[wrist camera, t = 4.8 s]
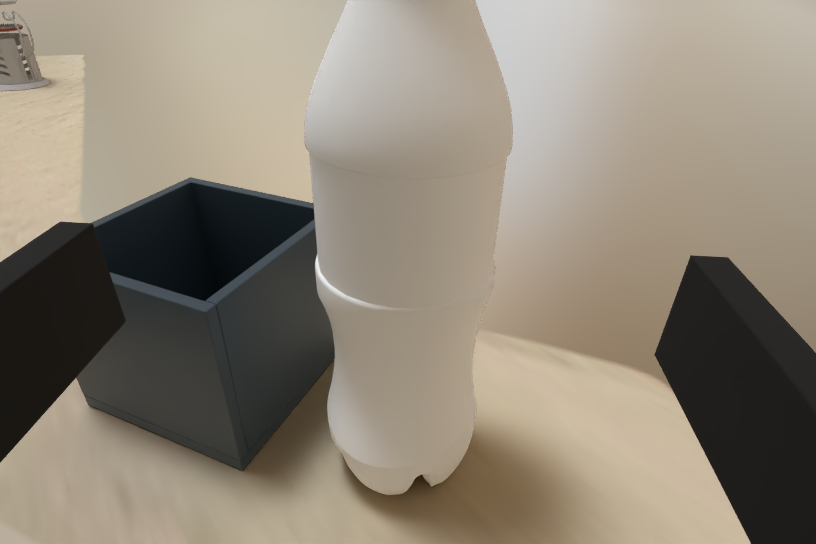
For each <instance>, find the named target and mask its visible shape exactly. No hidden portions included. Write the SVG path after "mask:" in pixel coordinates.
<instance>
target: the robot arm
mask: <svg viewBox="0 0 816 544" xmlns="http://www.w3.org/2000/svg"><path fill="white" fill-rule="evenodd" d="M125 322H126V319H125V316H124V314H123V311H122V308H121V305H120V302H119V299H118V296H117V293H116V290H115V287H114V284H113V281H112V278H111V275H110V272H109V269H108V267H107V264H106V261H105V258H104V255H103V252H102V249H101V246H100V243H99V240H98V237H97V234H96V231H95V228H94V225H93V224H91V223H73V222H59V223H58V224H56V225H55V226H53V227H52V228H50V229H49V230H47V231H46V232H44V233H43V234H41V235H40V236H38V237H37V238H35V239H34V240H33V241H31V242H30V243H28V244H27V245H25V246H24V247H22V248H21V249H19V250H18V251H16V252H15V253H13V254H12V255H10V256H9V257H7V258H6V259H5V260H3V261H2V262H0V462H1V461H2V460H3V459H4V458H5V457H6V456H7V454H8V453H9V452H10V451H11V450H12V449H13V448H14V447H15V445H16V444H17V443H18V442H19V441H20V440H21V439H22V438H23V436H24V435H25V434H26V433H27V432H28V431H29V430H30V429H31V427H32V426H33V425H34V424H35V423H36V422H37V421H38V420H39V419H40V417H41V416H42V415H43V414H44V413H45V412H46V411H47V410H48V408H49V407H50V406H51V405H52V404H53V403H54V402H55V401H56V399H57V398H58V397H59V396H60V395H61V394H62V393H63V392H64V390H65V389H66V388H67V387H68V386H69V385H70V384H71V383H72V381H73V380H74V379H75V378H76V377H77V376H78V375H79V374H80V373H81V371H82V370H83V369H84V368H85V367H86V366H87V365H88V364H89V362H90V361H91V360H92V359H93V358H94V357H95V356H96V355H97V353H98V352H99V351H100V350H101V349H102V348H103V347H104V346H105V344H106V343H107V342H108V341H109V340H110V339H111V338H112V337H113V335H114V334H115V333H116V332H117V331H118V330H119V329H120V328H121V327H122V325H123V324H124V323H125ZM655 356H656V358H657V360H658V362H659V364H660V366H661V368H662V370H663V372H664V374H665V376H666V378H667V380H668V382H669V384H670V386H671V388H672V390H673V392H674V394H675V396H676V397H677V399H678V401H679V403H680V405H681V407H682V409H683V411H684V413H685V415H686V417H687V419H688V421H689V423H690V425H691V427H692V429H693V431H694V433H695V435H696V437H697V439H698V440H699V442H700V444H701V446H702V448H703V450H704V452H705V454H706V456H707V458H708V460H709V462H710V464H711V466H712V468H713V470H714V472H715V474H716V476H717V478H718V480H719V482H720V483H721V485H722V487H723V489H724V491H725V493H726V495H727V497H728V499H729V501H730V503H731V505H732V507H733V509H734V511H735V513H736V515H737V517H738V519H739V521H740V523H741V525H742V526H743V528H744V530H745V532H746V534H747V536H748V538H749V540H750V542H751V544H816V353H815V352H814V351H813V349H812V348H811V347H810V346H809V345H808V344H807V343H806V342H805V341H804V340H803V339H802V338H801V336H800V335H799V334H798V333H797V332H796V331H795V330H794V329H793V328H792V327H791V326H790V324H789V323H788V322H787V321H786V320H785V319H784V318H783V317H782V316H781V315H780V314H779V313H778V311H776V309H775V308H774V307H773V306H772V305H771V304H770V303H769V302H768V301H767V300H766V298H765V297H764V296H763V295H762V294H761V293H760V292H759V291H758V290H757V289H756V288H755V286H754V285H753V284H752V283H751V282H750V281H749V280H748V279H747V278H746V277H745V276H744V275H743V273H741V271H740V270H739V269H738V268H737V267H736V266H735V265H734V264H733V263H732V261H731V260H730V259H729V258H726V257H708V256H690V259H689V262H688V265H687V267H686V270H685V273H684V276H683V278H682V281H681V284H680V287H679V289H678V292H677V295H676V298H675V300H674V303H673V306H672V308H671V311H670V314H669V317H668V320H667V322H666V325H665V328H664V330H663V333H662V336H661V339H660V342H659V344H658V347H657V350H656V353H655Z"/></svg>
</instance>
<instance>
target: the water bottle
mask: <svg viewBox="0 0 816 544" xmlns="http://www.w3.org/2000/svg"><path fill="white" fill-rule="evenodd" d="M512 130H513V127H512V115H511V106H510V102H509V97H508V93H507V89H506V86H505V83H504V80H503V77H502V74H501V71H500V68H499V65H498V62H497V59H496V56H495V53H494V50H493V48H492V45H491V43H490V40H489V38H488V35H487V32H486V29H485V27H484V25H483V22H482V19H481V16H480V13H479V10H478V7H477V5H476V2H475V0H348V1H347V3H346V6H345V8H344V11H343V13H342V16H341V18H340V20H339V22H338V25H337V27H336V29H335V31H334V34H333V36H332V38H331V41H330V43H329V45H328V47H327V50H326V52H325V55H324V57H323V60H322V62H321V65H320V67H319V70H318V73H317V75H316V78H315V81H314V83H313V86H312V90H311V93H310V97H309V101H308V104H307V110H306V118H305V146H306V148H307V150H308V151H309V154H310V166H311V180H312V192H313V204H314V217H315V229H316V241H317V256H316V261H315V273H316V285H317V293H318V296H319V298H320V300H321V302H322V304H323V305H324V307H325V310H326V312H327V314H328V317H329V319H330V323H331V327H332V331H333V339H334V347H335V361H334V371H333V377H332V382H331V386H330V390H329V394H328V402H327V413H328V422H329V428H330V433H331V439H332V441H333V443H334V445H335V446H336V448H337V449H338V450H339V452H341V453H342V455H343V456H344V459H345V461H346V463H347V465H348V466H349V468H350V469H351V471H352V472H353V473H354V475H355V476H356V477H357V478H358V479H359V480H360V481H361V482H362V483H363V484H364V485H365V486H367V487H368V488H370V489H372V490H374V491H376V492H379V493H382V494H386V495H395V494H402V493H404V492H406V491H407V490H408V489H409V488H410V486H411V485H412V483H413V481H414V480H415V478H416V477H418V476H419V475H423V477H424V479H425V480H426V481H427V482H428V483H429V484H430V486H431V487H432V486H434V485H436V484H439V483H442V482H443V481H444V480H445V479H446V478H448V477H449V476H450V474H451V473H452V472H453V471H454V470H455V469H456V468H457V466H458V465H459V464H460V462H461V460H462V459H463V457H464V455H465V453H466V451H467V449H468V447H469V444H470V441H471V438H472V435H473V430H474V425H475V418H476V411H477V404H476V399H475V394H474V387H473V374H472V365H473V353H474V347H475V341H476V336H477V332H478V328H479V324H480V321H481V318H482V315H483V312H484V309H485V307H486V304H487V302H488V299H489V297H490V295H491V293H492V290H493V286H494V278H495V269H496V268H495V261H494V251H495V243H496V236H497V228H498V221H499V220H498V219H499V212H500V205H501V198H502V190H503V183H504V175H505V167H506V160H507V156H508V155H509V154H510V152H511V149H512V135H513V133H512V132H513V131H512Z"/></svg>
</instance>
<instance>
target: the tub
mask: <svg viewBox="0 0 816 544" xmlns="http://www.w3.org/2000/svg"><path fill="white" fill-rule="evenodd" d="M91 224H93V225H94V228H95V231H96V234H97V237H98V240H99V243H100V246H101V249H102V252H103V255H104V258H105V261H106V264H107V267H108V269H109V272H110V275H111V278H112V281H113V284H114V287H115V290H116V293H117V296H118V299H119V302H120V305H121V308H122V311H123V314H124V316H125V319H126V322H125V323H124V324H123V325H122V327H121V328H120V329H119V330H118V331H117V332H116V333H115V334H114V335H113V337H112V338H111V339H110V340H109V341H108V342H107V343H106V344H105V346H104V347H103V348H102V349H101V350H100V351H99V352H98V353H97V355H96V356H95V357H94V358H93V359H92V360H91V361H90V362H89V364H88V365H87V366H86V367H85V368H84V369H83V370H82V371H81V373H80V374H79V375H78V376H77V377H76V378H77V380H78V382H79V385H80V387H81V389H82V392H83V394H84V396H85V399H86V401H87V403H88V405H90V406H93V407H95V408H97V409H100V410H102V411H104V412H107V413H109V414H111V415H114V416H116V417H118V418H121V419H123V420H125V421H128V422H130V423H132V424H135V425H137V426H139V427H142V428H144V429H146V430H149V431H151V432H153V433H156V434H158V435H160V436H163V437H165V438H167V439H170V440H172V441H174V442H177V443H179V444H181V445H184V446H186V447H188V448H191V449H193V450H195V451H198V452H200V453H202V454H205V455H207V456H209V457H212V458H214V459H216V460H219V461H221V462H223V463H226V464H228V465H230V466H233V467H235V468H237V469H240V470H244V469H245V467H246V466H247V465H248V464H249V462H250V461H251V460H252V459H253V458H254V456H255V455H256V454H257V453H258V452H259V450H260V449H261V448H262V447H263V445H264V444H265V443H266V442H267V441H268V439H269V438H270V437H271V436H272V434H273V433H274V432H275V431H276V430H277V428H278V427H279V426H280V425H281V423H282V422H283V421H284V420H285V419H286V417H287V416H288V415H289V414H290V412H291V411H292V410H293V409H294V408H295V406H296V405H297V404H298V403H299V402H300V400H301V399H302V398H303V397H304V395H305V394H306V393H307V392H308V391H309V389H310V388H311V387H312V386H313V384H314V383H315V382H316V381H317V380H318V378H319V377H320V376H321V375H322V373H323V372H324V371H325V370H326V369H327V367H328V366H329V365H330V364H331V362H332V361H333V360H334V359H335V347H334V339H333V331H332V327H331V323H330V319H329V317H328V314H327V312H326V310H325V307H324V305H323V304H322V302H321V300H320V298H319V296H318V293H317V285H316V273H315V261H316V256H317V241H316V229H315V217H314V204H313V203H309V202H305V201H299V200H295V199H290V198H285V197H281V196H276V195H271V194H266V193H262V192H257V191H252V190H247V189H243V188H238V187H233V186H228V185H224V184H219V183H214V182H209V181H204V180H200V179H195V178H188V179H186V180H184V181H181V182H179V183H177V184H175V185H173V186H171V187H168V188H166V189H164V190H162V191H160V192H157V193H155V194H154V195H151V196H149V197H147V198H144V199H142V200H140V201H138V202H136V203H134V204H131V205H129V206H127V207H125V208H123V209H121V210H118V211H116V212H114V213H112V214H109V215H108V216H105V217H103V218H101V219H99V220H97V221H94V222H92V223H91Z"/></svg>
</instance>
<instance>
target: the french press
mask: <svg viewBox="0 0 816 544" xmlns="http://www.w3.org/2000/svg"><path fill="white" fill-rule="evenodd" d="M16 1H17V0H0V5H9V4H14V3H16ZM4 13H5V14H6V15H7V16H9V18H10V19H6V18H5V16H4ZM14 13H15V14H17V15H18V16H19V17H20V18H21V20H23V18H22V17H21V16H20V15H19V14H18V13H17V12H15V11H12V14H13V18H11V17H10V15H8V14H7V13H6V12H2V15H3V18H4V19H5V20H7V21H10V20H12V21H13V23H14V24H11V25H10V24H9V25H8V24H7V25H6V24H5V25H4V24H3V25H2V24H1V25H0V32H9V31H15V30H18V32H19V33H2V34H0V91H13V90H25V89H32V88H38V87H42V86H46V85H48V84H50V81H49V80H47V79H46V78H43V77H42V76H41V73H40V69H39V68H38V64H37V61H36V58H35V55H34V53H33V51H34V43H33V39H32V35H31V33H30V30H29V28H28V26H27V24H26V23H25V21H24V20H23V22H24V24H25V25H26V27H27V29H28V31H29V34H30V37H31V41H32V47H31V45H30V40H29V37H28V35H26V34H21V32H20V29H22V27H23V26H22V25H19V24H16V23H15V22H14V19H15V16H14ZM20 44H21V46H22V48H21V49H19V50H18V48H17V46H18V45H20ZM20 53H22V55H21V56H20ZM23 55H25V56H23ZM22 56H23V57H22ZM24 60H26V61H27V63H26V64H23V62H22V61H24ZM27 67H29V69H30V70H29V71H25V68H27Z"/></svg>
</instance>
